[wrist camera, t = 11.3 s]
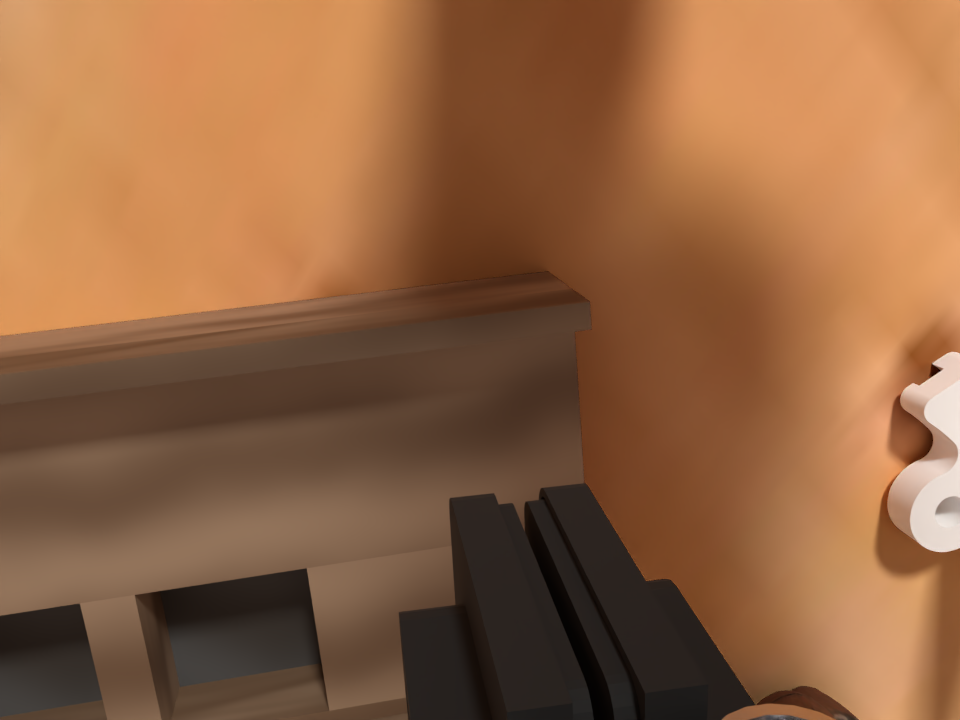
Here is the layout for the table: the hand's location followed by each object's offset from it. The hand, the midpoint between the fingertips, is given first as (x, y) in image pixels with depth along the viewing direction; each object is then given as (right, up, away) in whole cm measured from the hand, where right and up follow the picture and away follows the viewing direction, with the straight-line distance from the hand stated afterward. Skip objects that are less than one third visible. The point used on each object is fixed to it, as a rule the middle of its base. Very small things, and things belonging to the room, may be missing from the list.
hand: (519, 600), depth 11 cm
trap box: (-15, -4, +27) cm, 31 cm away
